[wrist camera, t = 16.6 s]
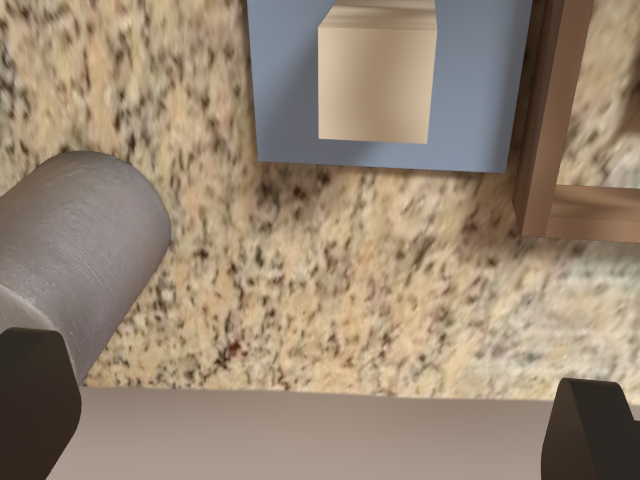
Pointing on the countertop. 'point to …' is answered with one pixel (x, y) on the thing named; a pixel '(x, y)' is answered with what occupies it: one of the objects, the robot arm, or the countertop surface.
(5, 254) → the pillar candle
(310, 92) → the pad
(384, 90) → the maple block
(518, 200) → the brown wooden square frame
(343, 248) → the countertop surface
